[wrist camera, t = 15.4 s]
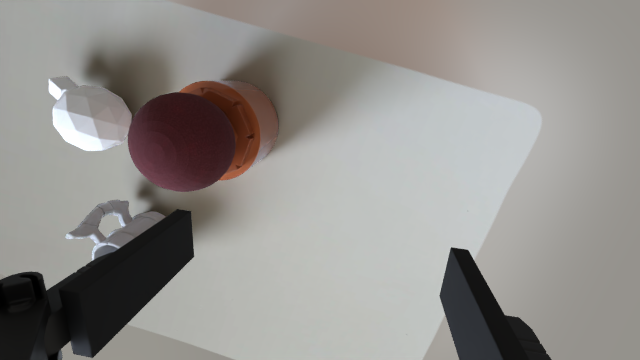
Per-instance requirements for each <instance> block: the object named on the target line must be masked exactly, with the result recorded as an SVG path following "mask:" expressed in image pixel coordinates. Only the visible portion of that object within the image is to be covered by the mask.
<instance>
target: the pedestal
mask: <svg viewBox="0 0 640 360" xmlns="http://www.w3.org/2000/svg"><path fill="white" fill-rule="evenodd" d="M180 93H190V94H195V95H199V96H201V97H203V98H205V99H207V100H209V101H211V102H212V103H213V104H215V105H216V106H218V107H219V108H220V109H221V110H222V111H223V112H224V114H225V115H226V116H227V118H228V119H229V121H230V123H231V125H232V128H233V131H234V134H235V141H236V148H235V155H234V157H233V160H232V163H231V165H230V167H229V169H228V170H227V172H226V173H225V174H224V175H223V176H222V177H221V178H220V179H219V180H228V179H232V178H235V177H237V176H239V175H241V174H243V173H244V172H245V171H247V170H248V169H249V168H251V167H252V166H253V165H255V164H256V163H257V162H259V161H260V160H261V159H263V158H264V157H265V156H266V155H267V154H268V153H269V152H270V151H271V149H272V148H273V146H274V144H275V142H276V139H277V136H278V118H277V114H276V111H275V108H274V106H273V104H272V103H271V101H270V99H269V98H268V97H267V96H266V95H265V94H264V93H263V92H262V91H261V90H260V89H258V88H257V87H255V86H253V85H252V84H249V83H247V82H242V81H200V82H195V83H193V84H190V85H188V86H186V87H185V88H183V89H182V90H181V91H180Z"/></svg>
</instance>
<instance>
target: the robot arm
mask: <svg viewBox="0 0 640 360" xmlns="http://www.w3.org/2000/svg"><path fill="white" fill-rule="evenodd" d="M193 257H194V249H193V234H192V219H191V211H187V210H179V209H177V210H176V211H174V212H173V213H171V214H170V215H168V216H167V217H165V218H164V219H162V220H161V221H159V222H158V223H156V224H155V225H153V226H152V227H150V228H149V229H147V230H146V231H144V232H143V233H141V234H140V235H138V236H137V237H135V238H134V239H132V240H131V241H129V242H128V243H126V244H125V245H123V246H122V247H120V248H119V249H117V250H116V251H114V252H110V253H107V254H105V255H102V256H100V257H97V258H96V259H94V260H93V261H91V262H90V263H88V264H87V265H86V266H84V267H82V268H80V269H79V270H77V272H76V273H75V272H74V273H73V274H71V275H70V276H68V277H67V278H65V279H64V280H62V281H60V282H59V283H57V284H56V285H54V286H53V287H51V288H50V289H48V290H47V291H46V288H45V284H44V280H43V276H42V274H40V273H38V272H23V273H18V274H15V275H11V276H8V277H6V278H4V279H1V280H0V360H62V352H61V348H63V347H64V346H65V345H66V344H67V343H68V342H69V341H71V345H72V349H73V353H74V354H77V355H81V356H86V357H91V358H93V357H94V356H95V355H96V354H97V353H98V352H99V351H100V350H101V349H102V348H103V347H104V346H105V345H106V344H107V343H108V342H109V341H110V340H111V339H112V338H113V337H114V336H115V335H116V334H117V333H118V332H119V331H120V330H121V329H122V328H123V327H124V326H125V325H126V324H127V323H128V322H129V321H130V320H131V319H132V318H133V317H134V316H135V315H136V314H137V313H138V312H139V311H140V310H141V309H142V308H143V307H144V306H145V305H146V304H147V303H148V302H149V301H150V300H151V299H152V298H153V297H154V296H155V295H156V294H157V293H158V292H159V291H160V290H161V289H162V288H163V287H164V286H165V285H166V284H167V283H168V282H169V281H170V280H171V279H172V278H173V277H174V276H175V275H176V274H177V273H178V272H179V271H180V270H181V269H182V268H183V267H184V266H185V265H186V264H187V263H188V262H189V261H190V260H191V259H192V258H193ZM440 299H441V302H442V305H443V308H444V312H445V315H446V318H447V321H448V325H449V327H450V331H451V334H452V337H453V341H454V344H455V347H456V350H457V353H458V357H459V360H551V358H550V357H549V355H548V354H546V351H545V349H544V348H543V346H542V344H540V341H539V340H538V338H537V337H536V335H535V333H534V332H533V330H532V329H531V328H530V327H529V326H528V325H527V324H526V323H524V322H523V321H522V320H521V319H520V318H518V317H512V316H506V315H504V313H503V312H502V310H501V308H500V306H499V304H498V302H497V301H496V299H495V297H494V295H493V294H492V292H491V290H490V288H489V286H488V285H487V283H486V281H485V279H484V278H483V276H482V274H481V272H480V271H479V269H478V267H477V265H476V263H475V261H474V260H473V258H472V256H471V254H470V253H469V251H468V250H465V249H458V248H451V250H450V254H449V258H448V262H447V267H446V271H445V275H444V279H443V283H442V288H441V292H440Z"/></svg>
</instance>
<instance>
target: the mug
mask: <svg viewBox="0 0 640 360" xmlns="http://www.w3.org/2000/svg"><path fill="white" fill-rule="evenodd" d="M128 207H129V202H128V201H120V200H111V201H108V202H107V203H101V204H98V205H97V206H96V207H95V208H94V209H93V210H92V211H91V212H90V213H89V215H87V216H86V218H85V219H84V220H83V221H82V222H81V224H80V225H79V226H78V227H77V228H76V229H75V230H74V231H71V232H69V233H68V234H67V235H66V238H68V239H71V238H78V239H81V238H87V237H90V238H91V239H92V240H93V241H94V242H95V243H96V244H97V245H96V246H95V247H94V249H93V251H92V261H93V260H94V259H96V258H97V257H100V256H102V255H105V254H107V253H110V252H114V251H116V250H117V249H119V248H120V247H122V246H123V245H125V244H126V243H128V242H129V241H131V240H132V239H134V238H135V237H137V236H138V235H140V234H141V233H143V232H144V231H146V230H147V229H149V228H150V227H152V226H153V225H155V224H156V223H158V222H159V221H161V220H162V219H164V218H165V217H166V216H164V215H162V214H160V213H158V212H153V211H150V212H146V213H141V214H139V215H136V216H134V217H133V218H132V217H131V216H130V214H129V210H128ZM106 215H116V216H117V215H118V218H119V221H120V224H121V225H122V228H119V229H116V230H114V231H112V232H111V233H110V234H109V235H108V237H107V238H106V237H104V235H103V234H102V233H101V232H100V231H99V230H98V227H99V223H100V221H101V218H102V217H104V216H106Z"/></svg>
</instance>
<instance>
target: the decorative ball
mask: <svg viewBox="0 0 640 360" xmlns="http://www.w3.org/2000/svg"><path fill="white" fill-rule="evenodd" d="M128 146H129V152H130V155H131V158H132V160H133V162H134V164H135V166H136V167H137V168H138V170H139V171H140V172H141V173H142V174H143V175H144V176H145V177H146V178H147V179H148V180H150V181H151V182H153V183H154V184H156V185H158V186H160V187H162V188H165V189H169V190H173V191H179V192H189V191H196V190H200V189H203V188H206V187H208V186H210V185H212V184H214V183H215V182H217V181H218V180H219V179H220V178H221V177H222V176H223V175H224V174H225V173H226V172H227V170H228V169H229V167H230V165H231V163H232V160H233V157H234V155H235V148H236V141H235V134H234V131H233V128H232V125H231V123H230V121H229V119H228V118H227V116H226V115H225V114H224V112H223V111H222V110H221V109H220V108H219V107H218V106H216V105H215V104H213V103H212V102H211V101H209V100H207V99H205V98H203V97H201V96H199V95H195V94H190V93H180V92H174V93H169V94H164V95H160V96H158V97H156V98H154V99H152V100H150V101H149V102H147V103H146V104H145V105H144V106H142V107H141V108H140V109H139V111H138V112H137V113H136V115H135V116H134V118H133V120H132V122H131V124H130V127H129V132H128Z"/></svg>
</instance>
